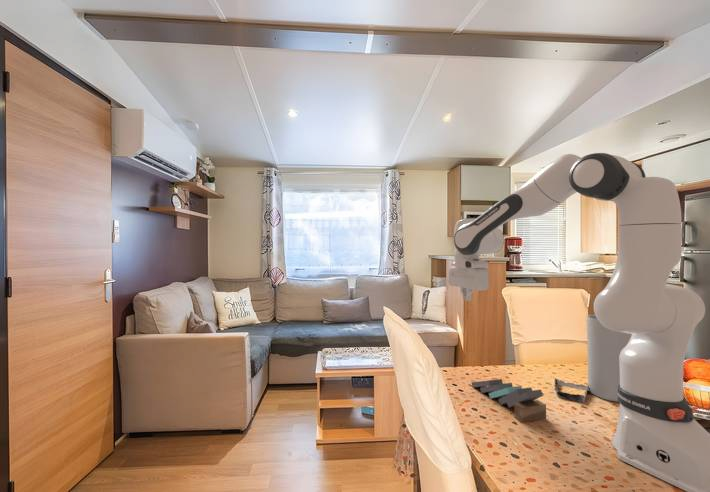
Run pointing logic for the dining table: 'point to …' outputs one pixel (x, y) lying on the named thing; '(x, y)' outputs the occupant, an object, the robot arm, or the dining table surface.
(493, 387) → the domino
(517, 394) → the domino
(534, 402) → the end block
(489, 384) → the domino
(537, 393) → the domino
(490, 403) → the dining table surface
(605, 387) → the cylinder vase
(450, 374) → the dining table surface
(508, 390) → the teal domino
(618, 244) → the robot arm
